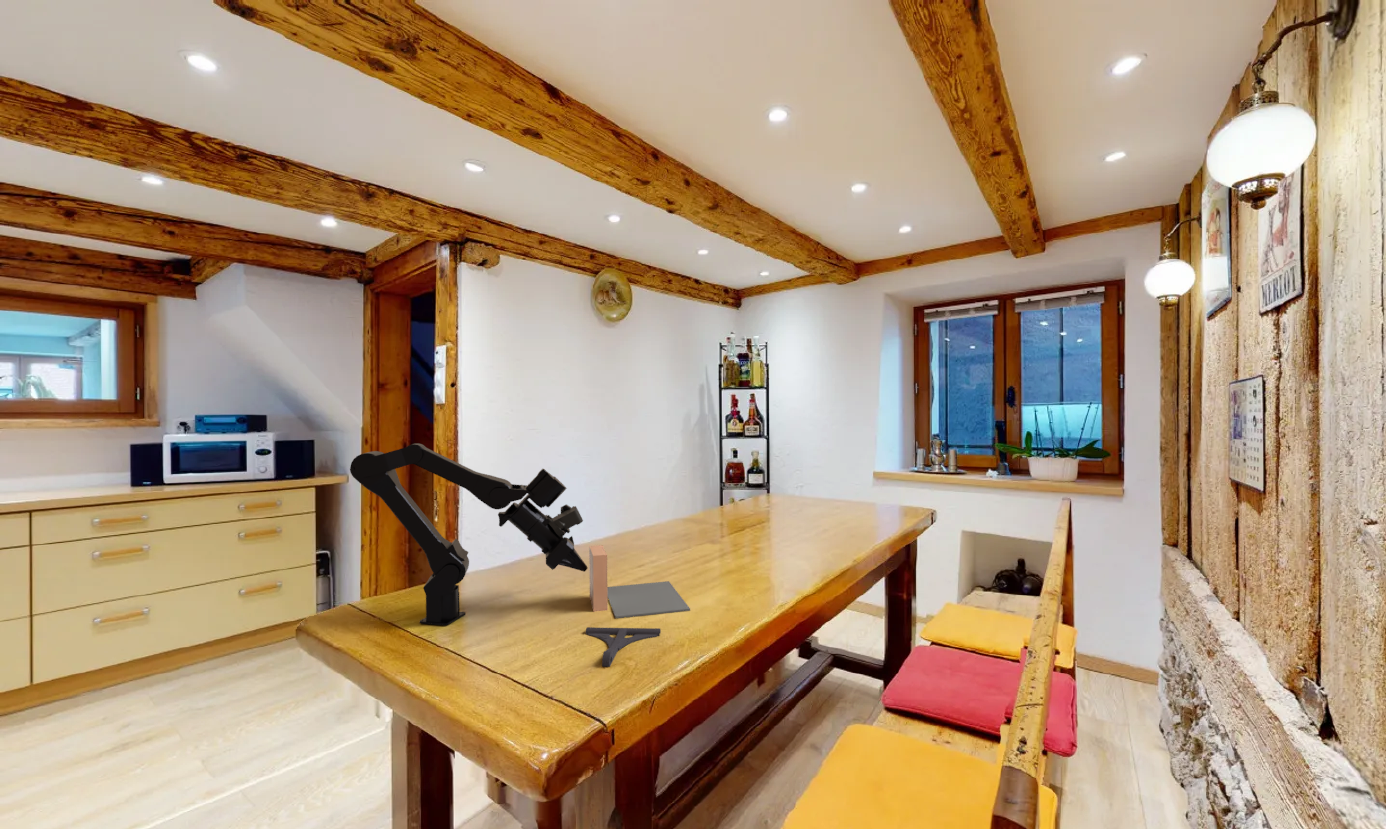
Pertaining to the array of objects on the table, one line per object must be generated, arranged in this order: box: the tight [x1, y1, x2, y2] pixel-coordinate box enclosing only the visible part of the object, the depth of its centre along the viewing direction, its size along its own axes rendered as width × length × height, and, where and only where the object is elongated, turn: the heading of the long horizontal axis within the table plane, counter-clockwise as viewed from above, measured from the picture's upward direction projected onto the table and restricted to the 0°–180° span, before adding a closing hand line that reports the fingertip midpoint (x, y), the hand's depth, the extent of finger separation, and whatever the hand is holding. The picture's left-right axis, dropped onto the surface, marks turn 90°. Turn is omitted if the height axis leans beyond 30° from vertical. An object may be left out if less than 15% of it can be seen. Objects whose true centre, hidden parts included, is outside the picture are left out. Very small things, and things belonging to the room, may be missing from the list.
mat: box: [607, 580, 691, 619], centre depth 127 cm, size 16×20×1 cm
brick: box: [588, 544, 609, 613], centre depth 124 cm, size 3×9×12 cm, turn 16°
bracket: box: [585, 626, 662, 668], centre depth 101 cm, size 14×15×3 cm
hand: (586, 569), depth 123 cm, fingers closed
